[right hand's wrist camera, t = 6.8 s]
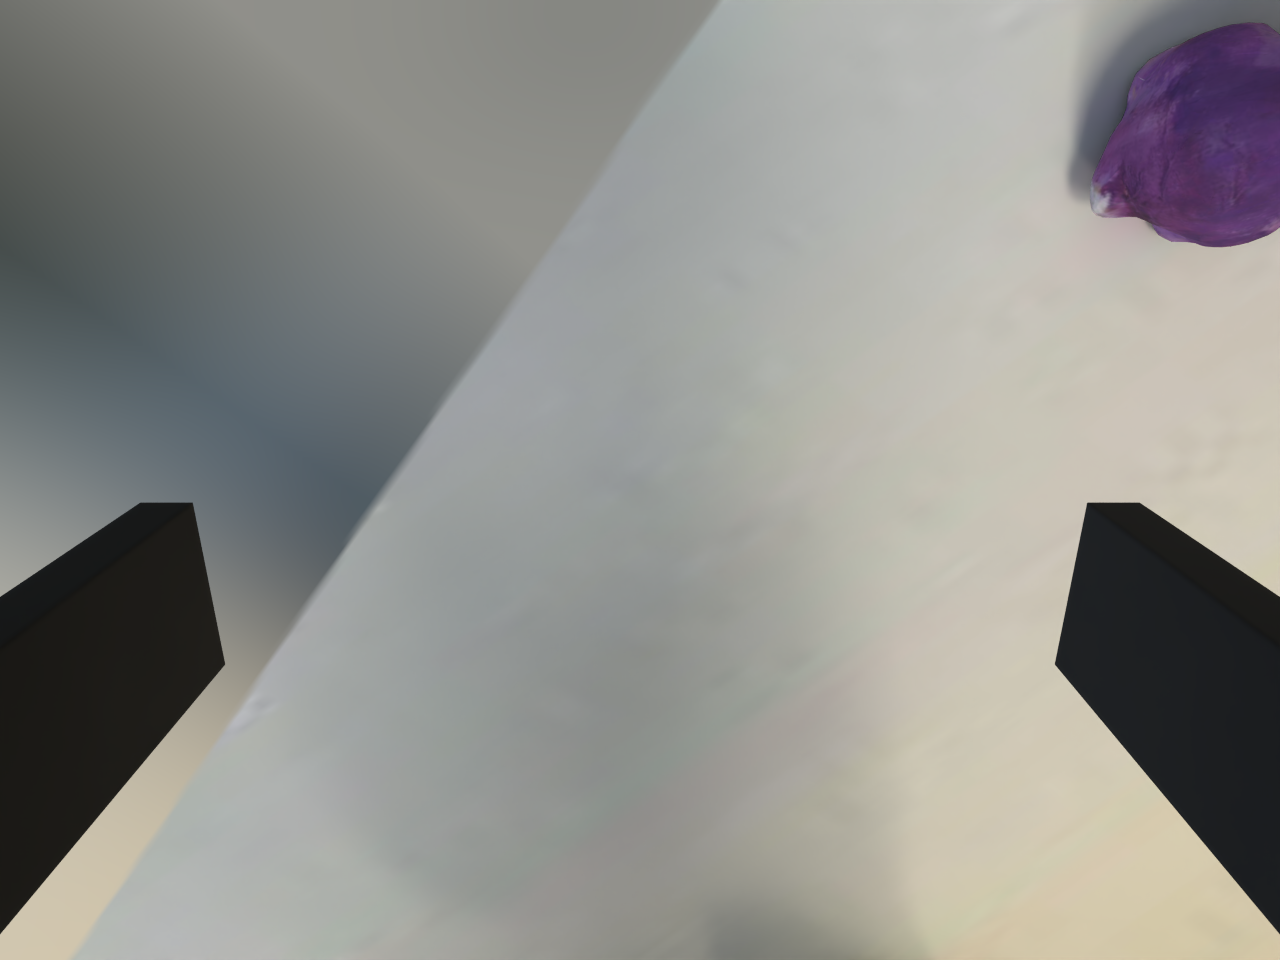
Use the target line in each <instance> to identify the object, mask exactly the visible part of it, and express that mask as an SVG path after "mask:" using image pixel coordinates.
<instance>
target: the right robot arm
mask: <svg viewBox="0 0 1280 960" xmlns="http://www.w3.org/2000/svg"><path fill="white" fill-rule="evenodd" d="M224 665H225V661H224V656H223V651H222V646H221V641H220V636H219V632H218V627H217V622H216V617H215V612H214V607H213V602H212V597H211V592H210V587H209V582H208V577H207V572H206V567H205V562H204V557H203V552H202V547H201V542H200V537H199V532H198V527H197V522H196V517H195V512H194V507H193V503H139V504H138V505H136V506H135V507H133V508H132V509H130V510H129V511H127V512H126V513H124V514H123V515H121V516H120V517H118V518H117V519H116V520H114V521H113V522H111V523H110V524H108V525H107V526H105V527H104V528H102V529H101V530H99V531H98V532H96V533H95V534H93V535H92V536H90V537H89V538H87V539H86V540H84V541H83V542H81V543H80V544H78V545H77V546H75V547H74V548H72V549H71V550H69V551H68V552H66V553H65V554H63V555H62V556H60V557H59V558H57V559H56V560H54V561H53V562H51V563H50V564H49V565H47V566H46V567H44V568H43V569H41V570H40V571H38V572H37V573H35V574H34V575H32V576H31V577H29V578H28V579H26V580H25V581H23V582H22V583H20V584H19V585H17V586H16V587H14V588H13V589H11V590H10V591H8V592H7V593H5V594H4V595H2V596H1V597H0V934H1V932H2V931H3V930H4V929H5V928H6V926H7V925H8V924H9V923H10V922H11V920H12V919H13V918H14V917H15V916H16V915H17V913H18V912H19V911H20V910H21V908H22V907H23V906H24V905H25V904H26V903H27V901H28V900H29V899H30V898H31V896H32V895H33V894H34V893H35V892H36V891H37V889H38V888H39V887H40V886H41V884H42V883H43V882H44V881H45V880H46V878H47V877H48V876H49V875H50V874H51V873H52V871H53V870H54V869H55V868H56V867H57V865H58V864H59V863H60V862H61V861H62V859H63V858H64V857H65V856H66V855H67V853H68V852H69V851H70V850H71V848H72V847H73V846H74V845H75V844H76V842H77V841H78V840H79V839H80V838H81V837H82V835H83V834H84V833H85V832H86V831H87V829H88V828H89V827H90V826H91V825H92V823H93V822H94V821H95V820H96V819H97V817H98V816H99V815H100V814H101V813H102V811H103V810H104V809H105V808H106V807H107V805H108V804H109V803H110V802H111V801H112V799H113V798H114V797H115V796H116V795H117V793H118V792H119V791H120V790H121V789H122V787H123V786H124V785H125V784H126V783H127V781H128V780H129V779H130V778H131V777H132V775H133V774H134V773H135V772H136V771H137V769H138V768H139V767H140V766H141V765H142V763H143V762H144V761H145V760H146V759H147V757H148V756H149V755H150V754H151V753H152V751H153V750H154V749H155V748H156V747H157V745H158V744H159V743H160V742H161V741H162V739H163V738H164V737H165V736H166V735H167V733H168V732H169V731H170V730H171V729H172V727H173V726H174V725H175V724H176V723H177V721H178V720H179V719H180V718H181V717H182V715H183V714H184V713H185V712H186V711H187V709H188V708H189V707H190V706H191V705H192V703H193V702H194V701H195V700H196V699H197V697H198V696H199V695H200V694H201V693H202V691H203V690H204V689H205V688H206V687H207V685H208V684H209V683H210V682H211V681H212V679H213V678H214V677H215V676H216V675H217V674H218V672H219V671H220V670H221V669H222V667H223V666H224ZM1055 665H1056V666H1057V668H1058V669H1059V670H1060V671H1061V672H1062V674H1063V675H1064V676H1065V677H1066V678H1067V679H1068V681H1069V682H1070V683H1071V684H1072V685H1073V687H1074V688H1075V689H1076V690H1077V691H1078V693H1079V694H1080V695H1081V696H1082V697H1083V699H1084V700H1085V701H1086V702H1087V703H1088V705H1089V706H1090V707H1091V708H1092V709H1093V711H1094V712H1095V713H1096V714H1097V715H1098V717H1099V718H1100V719H1101V720H1102V721H1103V723H1104V724H1105V725H1106V726H1107V727H1108V729H1109V730H1110V731H1111V732H1112V733H1113V735H1114V736H1115V737H1116V738H1117V739H1118V741H1119V742H1120V743H1121V744H1122V745H1123V747H1124V748H1125V749H1126V750H1127V751H1128V753H1129V754H1130V755H1131V756H1132V757H1133V759H1134V760H1135V761H1136V762H1137V763H1138V765H1139V766H1140V767H1141V768H1142V769H1143V771H1144V772H1145V773H1146V774H1147V775H1148V777H1149V778H1150V779H1151V780H1152V781H1153V783H1154V784H1155V785H1156V786H1157V787H1158V789H1159V790H1160V791H1161V792H1162V793H1163V795H1164V796H1165V797H1166V798H1167V799H1168V801H1169V802H1170V803H1171V804H1172V805H1173V807H1174V808H1175V809H1176V810H1177V811H1178V813H1179V814H1180V815H1181V816H1182V817H1183V819H1184V820H1185V821H1186V822H1187V823H1188V825H1189V826H1190V827H1191V828H1192V829H1193V831H1194V832H1195V833H1196V834H1197V835H1198V837H1199V838H1200V839H1201V840H1202V841H1203V843H1204V844H1205V845H1206V846H1207V847H1208V849H1209V850H1210V851H1211V852H1212V853H1213V855H1214V856H1215V857H1216V858H1217V859H1218V861H1219V862H1220V863H1221V864H1222V865H1223V867H1224V868H1225V869H1226V870H1227V871H1228V873H1229V874H1230V875H1231V876H1232V877H1233V879H1234V880H1235V881H1236V882H1237V883H1238V885H1239V886H1240V887H1241V888H1242V889H1243V891H1244V892H1245V893H1246V894H1247V895H1248V897H1249V898H1250V899H1251V900H1252V901H1253V903H1254V904H1255V905H1256V906H1257V907H1258V909H1259V910H1260V911H1261V912H1262V913H1263V915H1264V916H1265V917H1266V918H1267V919H1268V920H1269V922H1270V923H1271V924H1272V925H1273V926H1274V928H1275V929H1276V930H1277V931H1278V932H1279V934H1280V597H1279V596H1278V595H1276V594H1275V593H1273V592H1272V591H1270V590H1269V589H1267V588H1266V587H1264V586H1263V585H1261V584H1260V583H1258V582H1257V581H1255V580H1254V579H1252V578H1251V577H1249V576H1248V575H1246V574H1245V573H1243V572H1242V571H1240V570H1239V569H1237V568H1236V567H1234V566H1233V565H1231V564H1230V563H1229V562H1227V561H1226V560H1224V559H1223V558H1221V557H1220V556H1218V555H1217V554H1215V553H1214V552H1212V551H1211V550H1209V549H1208V548H1206V547H1205V546H1203V545H1202V544H1200V543H1199V542H1197V541H1196V540H1194V539H1193V538H1191V537H1190V536H1188V535H1187V534H1185V533H1184V532H1182V531H1181V530H1179V529H1178V528H1176V527H1175V526H1173V525H1172V524H1170V523H1169V522H1168V521H1166V520H1165V519H1163V518H1162V517H1160V516H1159V515H1157V514H1156V513H1154V512H1153V511H1151V510H1150V509H1148V508H1147V507H1145V506H1144V505H1142V504H1141V503H1087V507H1086V512H1085V517H1084V522H1083V527H1082V532H1081V537H1080V542H1079V547H1078V552H1077V557H1076V562H1075V567H1074V572H1073V577H1072V582H1071V587H1070V592H1069V597H1068V602H1067V607H1066V612H1065V617H1064V622H1063V627H1062V631H1061V636H1060V641H1059V646H1058V651H1057V656H1056V661H1055Z"/></svg>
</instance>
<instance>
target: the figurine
mask: <svg viewBox="0 0 1280 960" xmlns="http://www.w3.org/2000/svg"><path fill="white" fill-rule="evenodd" d="M1090 203H1091V209H1092V211H1093V212H1094V213H1095V214H1096V215H1097V216H1100V217H1105V218H1118V217H1138V218H1140V219H1143V220H1145V221H1148V222H1150V223H1152V225H1153V227H1154V229H1155V231H1156V232H1157V233H1158V235H1160V236H1161V237H1163V238H1165V239H1167V240H1169V241H1171V242H1191V243H1196V244H1199V245H1202V246H1207V247H1228V246H1235V245H1240V244H1244V243H1248V242H1251V241H1254V240H1256V239H1259V238H1262V237H1264V236H1267V235H1269V234H1271V233H1272V232H1274V231H1276V230H1277V229H1278V228H1280V34H1278V33H1277V32H1276V31H1275V30H1273V29H1272V28H1271V27H1270V26H1268V25H1266V24H1264V23H1241V24H1233V25H1228V26H1224V27H1220V28H1217V29H1214V30H1211V31H1209V32H1206V33H1203V34H1201V35H1198V36H1196V37H1194V38H1192V39H1190V40H1188V41H1186V42H1184V43H1182V44H1180V45H1177V46H1175V47H1172V48H1170V49H1167V50H1166V51H1164V52H1162V53H1160V54H1159V55H1157V56H1155V57H1153V58H1151V59H1150V60H1149V61H1148V62H1147V63H1146V64H1145V65H1144V66H1143V67H1142V68H1141V69H1140V70H1139V71H1138V72H1137V73H1136V75H1135V77H1134V80H1133V82H1132V85H1131V87H1130V90H1129V93H1128V97H1127V108H1126V110H1125V113H1124V116H1123V118H1122V120H1121V122H1120V123H1119V124H1118V126H1117V127H1116V129H1115V131H1114V132H1113V134H1112V135H1111V137H1110V139H1109V142H1108V144H1107V146H1106V148H1105V151H1104V153H1103V155H1102V157H1101V159H1100V161H1099V164H1098V166H1097V168H1096V170H1095V172H1094V175H1093V178H1092V181H1091V188H1090Z"/></svg>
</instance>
